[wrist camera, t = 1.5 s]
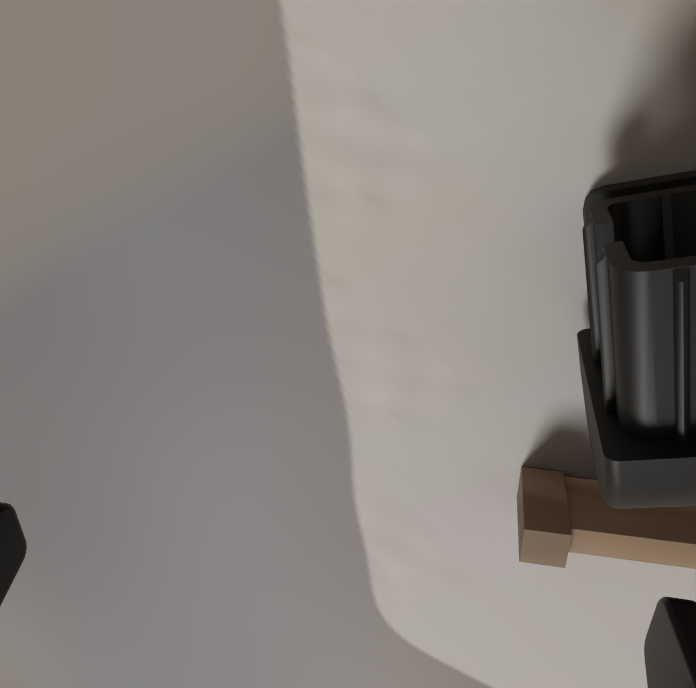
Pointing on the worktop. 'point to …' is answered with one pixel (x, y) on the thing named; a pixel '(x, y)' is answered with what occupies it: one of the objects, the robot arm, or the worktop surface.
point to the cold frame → (596, 524)
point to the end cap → (641, 340)
